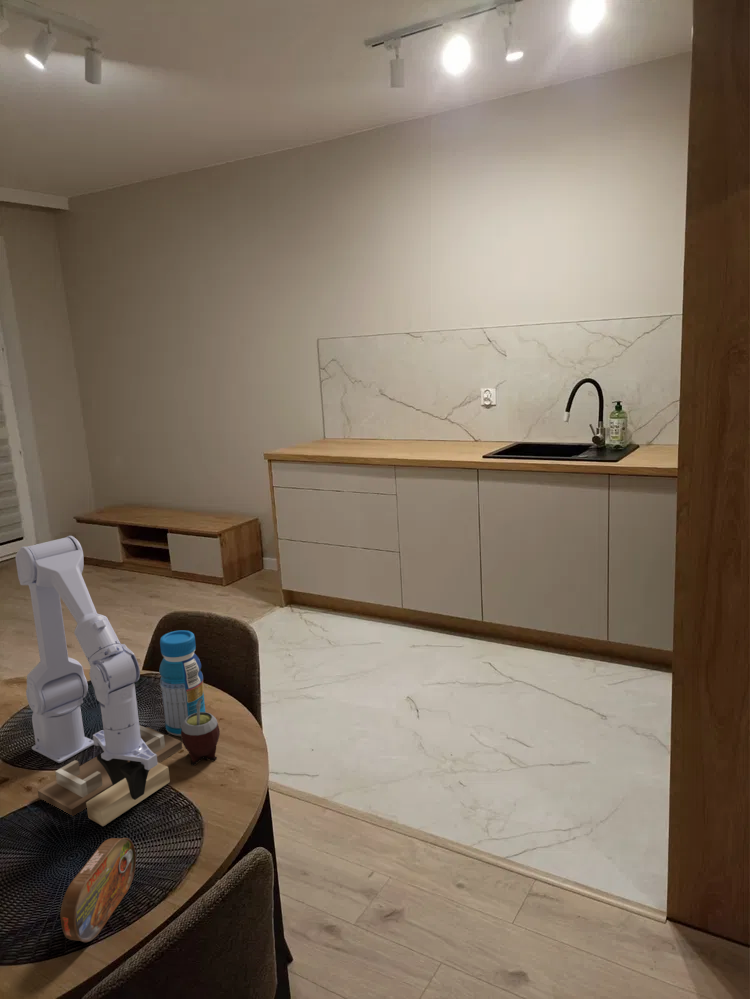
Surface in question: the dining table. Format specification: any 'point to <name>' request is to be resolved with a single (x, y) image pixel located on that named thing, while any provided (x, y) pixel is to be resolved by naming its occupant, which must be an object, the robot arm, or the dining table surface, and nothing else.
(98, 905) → the tin
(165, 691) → the beverage bottle
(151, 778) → the slat
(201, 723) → the mate gourd
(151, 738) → the endcap rail
